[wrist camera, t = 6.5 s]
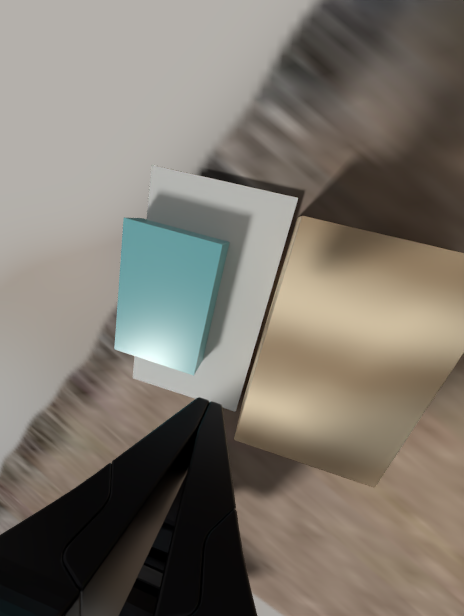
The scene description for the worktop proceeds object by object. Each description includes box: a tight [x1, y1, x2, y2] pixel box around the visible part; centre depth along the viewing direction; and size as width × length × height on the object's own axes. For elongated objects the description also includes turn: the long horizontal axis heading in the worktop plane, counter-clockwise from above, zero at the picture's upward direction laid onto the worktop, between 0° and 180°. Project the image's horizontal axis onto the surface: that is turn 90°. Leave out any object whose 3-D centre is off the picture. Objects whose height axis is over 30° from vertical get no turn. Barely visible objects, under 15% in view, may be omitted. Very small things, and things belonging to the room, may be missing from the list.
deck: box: [234, 216, 464, 488], centre depth 15 cm, size 14×9×4 cm, turn 168°
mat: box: [133, 165, 298, 412], centre depth 17 cm, size 16×9×1 cm, turn 168°
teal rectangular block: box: [114, 218, 230, 376], centre depth 16 cm, size 9×6×2 cm, turn 167°
